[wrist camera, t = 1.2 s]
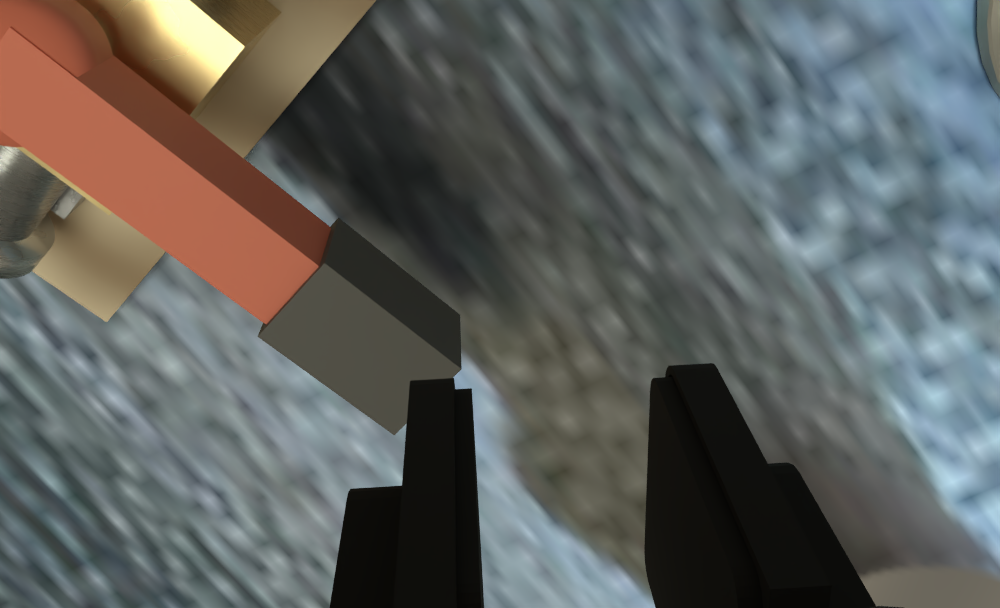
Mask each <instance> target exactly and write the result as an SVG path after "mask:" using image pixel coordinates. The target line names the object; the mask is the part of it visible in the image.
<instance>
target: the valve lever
mask: <svg viewBox="0 0 1000 608" xmlns="http://www.w3.org/2000/svg"><path fill="white" fill-rule="evenodd" d="M0 145H2V146H8V147H24V148H25V149H26V150H28V151H29V152H30V153H32V154H33V155H35V156H36V157H37V158H39V159H40V160H41V161H43V162H44V163H46V164H47V165H48V166H50V167H51V168H52V169H54V170H55V171H56V172H58V173H59V174H61V175H62V176H63V177H65V178H66V179H67V180H69V181H70V182H72V183H73V184H74V185H76V186H77V187H78V188H80V189H81V190H83V191H84V192H85V193H87V194H88V195H89V196H91V197H92V198H93V199H95V200H96V201H98V202H99V203H100V204H102V205H103V206H104V207H106V208H107V209H109V210H110V211H111V212H113V213H114V214H115V215H117V216H118V217H119V218H121V219H122V220H124V221H125V222H126V223H128V224H129V225H130V226H132V227H133V228H135V229H136V230H137V231H139V232H140V233H141V234H143V235H144V236H145V237H147V238H148V239H150V240H151V241H152V242H154V243H155V244H156V245H158V246H159V247H161V248H162V249H163V250H165V251H166V252H167V253H169V254H170V255H171V256H173V257H174V258H176V259H177V260H178V261H180V262H181V263H182V264H184V265H185V266H187V267H188V268H189V269H191V270H192V271H193V272H195V273H196V274H197V275H199V276H200V277H202V278H203V279H204V280H206V281H207V282H208V283H210V284H211V285H213V286H214V287H215V288H217V289H218V290H219V291H221V292H222V293H223V294H225V295H226V296H228V297H229V298H230V299H232V300H233V301H234V302H236V303H237V304H239V305H240V306H241V307H243V308H244V309H245V310H247V311H248V312H249V313H251V314H252V315H254V316H255V317H256V318H258V319H259V320H260V321H262V322H263V325H262V327H261V330H260V332H259V335H258V337H259V338H260V339H262V340H263V341H265V342H266V343H267V344H269V345H270V346H272V347H273V348H274V349H276V350H277V351H278V352H280V353H281V354H283V355H284V356H285V357H287V358H288V359H289V360H291V361H292V362H294V363H295V364H296V365H298V366H299V367H301V368H302V369H303V370H305V371H306V372H307V373H309V374H310V375H312V376H313V377H314V378H316V379H317V380H319V381H320V382H321V383H323V384H324V385H325V386H327V387H328V388H330V389H331V390H332V391H334V392H335V393H337V394H338V395H339V396H341V397H342V398H343V399H345V400H346V401H348V402H349V403H350V404H352V405H353V406H354V407H356V408H357V409H359V410H360V411H361V412H363V413H364V414H366V415H367V416H368V417H370V418H371V419H372V420H374V421H375V422H377V423H378V424H379V425H381V426H382V427H384V428H385V429H386V430H388V431H389V432H390V433H392V434H393V435H395V434H396V433H397V432H398V431H399V430H400V429H401V428H402V427H403V426H404V425H405V424H406V423H407V413H408V400H409V386H410V381H411V380H428V379H446V378H453V377H454V376H455V375H456V374H457V373H458V372H459V371H460V370H461V335H460V315H459V314H458V313H457V312H456V311H454V310H453V309H452V308H451V307H449V306H448V305H447V304H446V303H444V302H443V301H442V300H441V299H439V298H438V297H437V296H436V295H434V294H433V293H432V292H431V291H429V290H428V289H427V288H426V287H424V286H423V285H422V284H421V283H419V282H418V281H417V280H416V279H414V278H413V277H412V276H411V275H409V274H408V273H407V272H406V271H404V270H403V269H402V268H401V267H399V266H398V265H397V264H396V263H394V262H393V261H392V260H391V259H389V258H388V257H387V256H386V255H384V254H383V253H382V252H381V251H379V250H378V249H377V248H376V247H374V246H373V245H372V244H371V243H369V242H368V241H367V240H366V239H364V238H363V237H362V236H361V235H359V234H358V233H357V232H356V231H354V230H353V229H352V228H351V227H349V226H348V225H347V224H346V223H344V222H343V221H342V220H341V219H339V218H338V219H337V220H336V221H335V222H334V223H333V224H332V226H331V227H329V226H328V225H327V224H326V223H324V222H323V221H322V220H321V219H319V218H318V217H317V216H315V215H314V214H313V213H312V212H310V211H309V210H308V209H307V208H305V207H304V206H303V205H302V204H300V203H299V202H298V201H297V200H295V199H294V198H293V197H292V196H290V195H289V194H288V193H286V192H285V191H284V190H283V189H281V188H280V187H279V186H278V185H276V184H275V183H274V182H273V181H271V180H270V179H269V178H268V177H266V176H265V175H264V174H263V173H261V172H260V171H259V170H257V169H256V168H255V167H254V166H252V165H251V164H250V163H249V162H247V161H246V160H245V159H244V158H242V157H241V156H240V155H239V154H237V153H236V152H235V151H234V150H232V149H231V148H230V147H228V146H227V145H226V144H225V143H223V142H222V141H221V140H220V139H218V138H217V137H216V136H215V135H213V134H212V133H211V132H210V131H208V130H207V129H206V128H205V127H203V126H202V125H201V124H199V123H198V122H197V121H196V120H194V119H193V118H192V117H191V116H189V115H188V114H187V113H186V112H184V111H183V110H182V109H181V108H179V107H178V106H177V105H176V104H174V103H173V102H172V101H170V100H169V99H168V98H167V97H165V96H164V95H163V94H162V93H160V92H159V91H158V90H157V89H155V88H154V87H153V86H152V85H150V84H149V83H148V82H147V81H145V80H144V79H143V78H141V77H140V76H139V75H138V74H136V73H135V72H134V71H133V70H131V69H130V68H129V67H128V66H126V65H125V64H124V63H123V62H121V61H120V60H119V59H118V58H116V57H115V56H114V55H113V53H112V49H111V46H110V43H109V40H108V38H107V36H106V34H105V32H104V30H103V28H102V27H101V25H100V24H99V23H98V21H97V20H96V19H95V18H94V16H93V15H92V14H91V13H90V12H89V11H88V10H87V9H86V8H84V7H83V6H82V5H81V4H79V3H78V2H76V1H75V0H0Z"/></svg>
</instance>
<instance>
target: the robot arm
mask: <svg viewBox="0 0 1000 608" xmlns="http://www.w3.org/2000/svg"><path fill="white" fill-rule="evenodd" d="M977 38H978V43H979V49H980V54H981V59H982V64H983V66H984V69H985V71H986V73H987V76H988V78H989V80H990V83H991V85H992V87H993V89H994V91H995V92H996V93H997V95H998V96H999V97H1000V0H978V1H977ZM645 565H646V572H647V577H648V582H649V585H650V589H651V592H652V596H653V600H654V603H655V607H656V608H903V607H888V606H875V604H874V602H873V600H872V598H871V597H870V595H869V593H868V591H867V590H866V588H865V586H864V584H863V583H862V581H861V579H860V577H859V576H858V574H857V572H856V570H855V569H854V567H853V565H852V563H851V562H850V560H849V558H848V556H847V555H846V553H845V551H844V550H843V548H842V546H841V544H840V543H839V541H838V539H837V537H836V536H835V534H834V532H833V530H832V529H831V527H830V525H829V523H828V522H827V520H826V518H825V516H824V515H823V513H822V511H821V509H820V508H819V506H818V504H817V502H816V501H815V499H814V497H813V495H812V494H811V492H810V490H809V488H808V487H807V485H806V483H805V481H804V480H803V478H802V476H801V475H800V473H799V471H798V470H797V469H796V468H795V466H794V465H792V464H790V463H774V464H767V462H766V460H765V458H764V456H763V454H762V452H761V450H760V448H759V447H758V445H757V443H756V441H755V439H754V437H753V435H752V433H751V431H750V430H749V428H748V426H747V424H746V422H745V420H744V418H743V416H742V414H741V413H740V411H739V409H738V407H737V405H736V403H735V401H734V399H733V397H732V395H731V394H730V392H729V390H728V388H727V386H726V384H725V382H724V380H723V378H722V377H721V375H720V373H719V371H718V369H717V367H716V366H715V365H714V364H712V363H710V364H692V365H674V366H668V368H667V371H666V376H665V378H653V379H652V381H651V388H650V413H649V440H648V468H647V495H646V523H645ZM330 608H484V599H483V579H482V561H481V543H480V526H479V508H478V491H477V473H476V456H475V438H474V421H473V404H472V389H455V384H454V378H446V379H428V380H411V381H410V386H409V400H408V413H407V427H406V441H405V454H404V468H403V482H402V486H391V487H374V488H358V489H350V491H349V493H348V497H347V502H346V508H345V514H344V521H343V527H342V533H341V540H340V546H339V552H338V559H337V565H336V571H335V578H334V584H333V590H332V597H331V603H330Z"/></svg>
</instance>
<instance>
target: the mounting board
mask: <svg viewBox="0 0 1000 608" xmlns="http://www.w3.org/2000/svg"><path fill="white" fill-rule="evenodd" d="M268 1H269V2H270V3H271V4H272V5H274V6H275V7H276V8H277V9H278V10H279V11H281V12H282V13H281V14H280V15H279V17H278V18H277V19H276V20H275V22H274V23H273V24H272V25H271V27H270V28H269V29H268V30H267V32H266V33H265V34H264V35H263V37H262V38H261V39H260V40H259V42H258V43H257V44H256V45H255V47H254V48H253V49H252V50H251V51H250V53H249V54H248V55H247V56H246V58H245V59H244V60H243V61H242V63H241V64H240V65H239V66H238V68H237V69H236V70H235V71H234V73H233V74H232V75H231V76H230V78H229V79H228V80H227V81H226V83H225V84H224V85H223V86H222V88H221V89H220V90H219V91H218V93H217V94H216V95H215V96H214V97H213V99H212V100H211V101H210V102H209V104H208V105H207V106H206V107H205V109H204V110H203V111H202V112H201V114H200V115H199V116H198V117H197V119H196V121H197V122H198V123H199V124H201V125H202V126H203V127H205V128H206V129H207V130H208V131H210V132H211V133H212V134H213V135H215V136H216V137H217V138H218V139H220V140H221V141H222V142H223V143H225V144H226V145H227V146H228V147H230V148H231V149H232V150H234V151H235V152H236V153H237V154H239V155H240V156H241V157H242V158H245V156H246V155H247V154H248V153H249V152H250V150H251V149H252V148H253V147H254V146H255V144H256V143H257V142H258V141H259V140H260V138H261V137H262V136H263V135H264V134H265V132H266V131H267V130H268V129H269V128H270V126H271V125H272V124H273V123H274V122H275V121H276V119H277V118H278V117H279V116H280V115H281V113H282V112H283V111H284V110H285V109H286V107H287V106H288V105H289V104H290V103H291V101H292V100H293V99H294V98H295V97H296V95H297V94H298V93H299V92H300V91H301V89H302V88H303V87H304V86H305V85H306V83H307V82H308V81H309V80H310V79H311V78H312V76H313V75H314V74H315V73H316V72H317V70H318V69H319V68H320V67H321V66H322V64H323V63H324V62H325V61H326V60H327V58H328V57H329V56H330V55H331V54H332V52H333V51H334V50H335V49H336V48H337V46H338V45H339V44H340V43H341V42H342V40H343V39H344V38H345V37H346V36H347V35H348V33H349V32H350V31H351V30H352V29H353V27H354V26H355V25H356V24H357V23H358V21H359V20H360V19H361V18H362V17H363V15H364V14H365V13H366V12H367V11H368V9H369V8H370V7H371V6H372V5H373V3H374V2H375V1H376V0H268ZM48 215H49V216H50V218H51V221H52V223H53V226H54V230H55V240H54V243H53V246H52V247H51V248H50V250H49V251H48V252H47V253H46V255H45V256H44V257H43V259H42V260H41V261H40V262H39V264H38V265H37V266H36V267H35V269H34V270H33V272H34V273H36V274H37V275H38V276H40V277H41V278H43V279H44V280H46V281H47V282H49V283H50V284H52V285H53V286H54V287H56V288H57V289H59V290H60V291H62V292H63V293H65V294H66V295H68V296H69V297H71V298H72V299H73V300H75V301H76V302H78V303H79V304H81V305H82V306H84V307H85V308H87V309H88V310H89V311H91V312H92V313H94V314H95V315H97V316H98V317H100V318H101V319H103V320H104V321H106V322H107V321H108V320H109V319H110V318H111V316H112V315H113V314H114V313H115V312H116V310H117V309H118V308H119V307H120V306H121V304H122V303H123V302H124V301H125V300H126V299H127V297H128V296H129V295H130V294H131V293H132V291H133V290H134V289H135V288H136V287H137V285H138V284H139V283H140V282H141V281H142V279H143V278H144V277H145V276H146V275H147V273H148V272H149V271H150V270H151V269H152V267H153V266H154V265H155V264H156V263H157V261H158V260H159V259H160V258H161V257H162V255H163V254H164V253H165V252H166V251H165V250H163V249H162V248H161V247H159V246H158V245H156V244H155V243H154V242H152V241H151V240H150V239H148V238H147V237H145V236H144V235H143V234H141V233H140V232H139V231H137V230H136V229H135V228H133V227H132V226H130V225H129V224H128V223H126V222H125V221H124V220H122V219H121V218H119V217H118V216H117V215H115V214H114V213H113V212H112V214H111V215H110V216H109V215H108V214H107V213H105V212H104V211H103V210H101V209H100V208H98V207H97V206H96V205H94V204H93V203H92V202H90V201H89V200H88V199H85V200H84V201H83V202H82V203H81V204H80V205H79V206H78V207H77V208H76V209H75V210H74V211H73V212H72V213H71V214H70V215H69V216H68V217H67V218H65V219H63V218H61V217H60V216H58V215H57V214H56V213H54V212H53V211H51V210H49V212H48Z"/></svg>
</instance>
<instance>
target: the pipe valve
mask: <svg viewBox="0 0 1000 608" xmlns="http://www.w3.org/2000/svg"><path fill="white" fill-rule="evenodd" d="M75 1H76V2H78V3H79V4H81V5H82V6H83V7H84V8H86V9H87V10H88V11H89V12H90V13H91V14H92V15H93V16H94V18H95V19H96V20H97V21H98V23H99V24H100V25H101V27H102V28H103V30H104V32H105V34H106V36H107V38H108V40H109V43H110V46H111V49H112V53H113V55H114V56H115V57H116V58H118V59H119V60H120V61H121V62H123V63H124V64H125V65H126V66H128V67H129V68H130V69H131V70H133V71H134V72H135V73H136V74H138V75H139V76H140V77H141V78H143V79H144V80H145V81H147V82H148V83H149V84H150V85H152V86H153V87H154V88H155V89H157V90H158V91H159V92H160V93H162V94H163V95H164V96H165V97H167V98H168V99H169V100H170V101H172V102H173V103H174V104H176V105H177V106H178V107H179V108H181V109H182V110H183V111H184V112H186V113H187V114H188V115H189V116H191V117H192V118H193V119H194V120H196V119H197V117H198V116H199V115H200V114H201V112H202V111H203V110H204V109H205V107H206V106H207V105H208V104H209V102H210V101H211V100H212V99H213V97H214V96H215V95H216V94H217V93H218V91H219V90H220V89H221V88H222V86H223V85H224V84H225V83H226V81H227V80H228V79H229V78H230V76H231V75H232V74H233V73H234V71H235V70H236V69H237V68H238V66H239V65H240V64H241V63H242V61H243V60H244V59H245V58H246V56H247V55H248V54H249V53H250V51H251V50H252V49H253V48H254V47H255V45H256V44H257V43H258V42H259V40H260V39H261V38H262V37H263V35H264V34H265V33H266V32H267V30H268V29H269V28H270V27H271V25H272V24H273V23H274V22H275V20H276V19H277V18H278V17H279V15H280V14H281V13H282V12H281V11H279V10H278V9H277V8H276V7H275V6H274V5H272V4H271V3H270V2H269V1H268V0H75ZM85 199H88V200H89V201H90V202H92V203H93V204H94V205H96V206H97V207H98V208H100V209H101V210H103V211H104V212H105V213H107V214H108V215H109V216H110V215H111V214H112V212H111V211H110V210H109V209H107V208H106V207H104V206H103V205H102V204H100V203H99V202H98V201H96V200H95V199H93V198H92V197H91V196H89V195H88V194H87V193H85V192H84V191H83V190H81V189H80V188H78V187H77V186H76V185H74V184H73V183H72V182H70V181H69V180H67V179H66V178H65V177H63V176H62V175H61V174H59V173H58V172H56V171H55V170H54V169H52V168H51V167H50V166H48V165H47V164H46V163H44V162H43V161H41V160H40V159H39V158H37V157H36V156H35V155H33V154H32V153H30V152H29V151H28V150H26V149H25V148H24V147H8V146H2V145H0V278H6V279H9V278H17V277H20V276H24V275H26V274H28V273H30V272H31V271H33V270H34V269H35V267H36V266H37V265H38V264H39V262H40V261H41V260H42V259H43V257H44V256H45V255H46V253H47V252H48V251H49V250H50V248H51V247H52V246H53V243H54V240H55V230H54V226H53V223H52V221H51V218H50V216H49V215H48V212H49V210H51V211H53V212H54V213H56V214H57V215H58V216H60V217H61V218H63V219H65V218H67V217H68V216H69V215H70V214H71V213H72V212H73V211H74V210H75V209H76V208H77V207H78V206H79V205H80V204H81V203H82V202H83V201H84V200H85Z"/></svg>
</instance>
